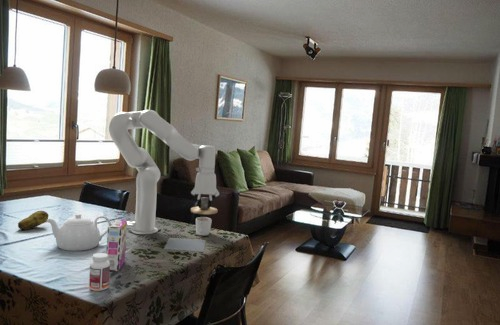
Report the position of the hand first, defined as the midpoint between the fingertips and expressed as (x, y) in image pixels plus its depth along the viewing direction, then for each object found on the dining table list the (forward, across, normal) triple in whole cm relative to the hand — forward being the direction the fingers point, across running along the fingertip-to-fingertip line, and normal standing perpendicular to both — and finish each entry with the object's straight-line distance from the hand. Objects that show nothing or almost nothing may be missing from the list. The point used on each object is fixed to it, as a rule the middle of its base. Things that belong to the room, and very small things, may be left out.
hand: (204, 207), depth 204 cm
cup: (+14, 0, 0) cm, 14 cm away
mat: (+14, -6, -18) cm, 24 cm away
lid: (+2, 0, 0) cm, 2 cm away
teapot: (+14, -50, -27) cm, 59 cm away
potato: (+13, -78, -7) cm, 80 cm away
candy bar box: (+14, -29, -48) cm, 58 cm away
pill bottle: (+14, -29, -68) cm, 75 cm away
